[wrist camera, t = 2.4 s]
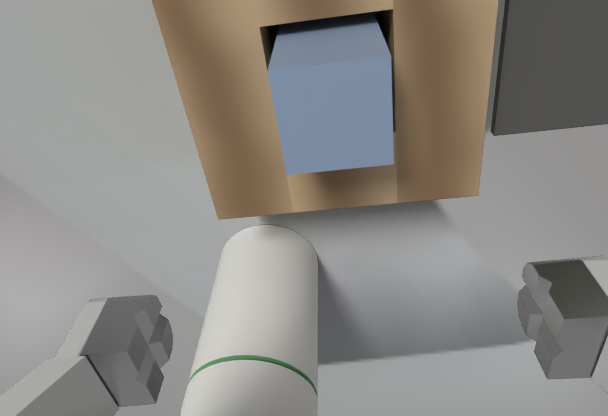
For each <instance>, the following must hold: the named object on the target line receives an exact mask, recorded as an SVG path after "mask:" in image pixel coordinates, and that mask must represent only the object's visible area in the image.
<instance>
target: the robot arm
mask: <svg viewBox="0 0 608 416" xmlns="http://www.w3.org/2000/svg"><path fill="white" fill-rule="evenodd" d="M522 278H523V279H524V281H525V283H526V285H525V286H524V287H523V288H522V289H521V290H520V291H519V295H518V302H517V303H518V313H519V318H520V321H521V324H522V327H523V329H524V331H525V333H526V335H528V336H529V337H531V338H532V339H533V340H535V341H536V346H535V350H534V352H535V354H536V357H537V358H538V361H539V363H540V365H541V367H542V369H543V371H544V373H545V375H546V377H547V379H567V378H591V380H592V381H593V382H595V383H596V384H597V385H598V386H599V387H600V388H602V389H603V390H604V391H605V392H607V393H608V258H606V257H604V256H594V257H593V256H592V257H582V258H577V259H562V260H551V261H541V262H531V263H527V264H526V265H525V266H524V269H523V274H522ZM161 308H162V305H161V303H160V301H159V299H158V297H157V296H154V295H145V296H126V297H112V298H100V299H90V300H89V301H88V302H86V303H85V304H84V306H83V308H82V310H81V311H80V313H79V315H78V317H77V319H76V321H75V323H74V324H73V326H72V328H71V330H70V332H69V333H68V335H67V337H66V339H65V341H64V343H63V344H62V346H61V348H60V350H59V352H58V353H57V355H56V357H55V358H50V359H47V360H46V361H45V362H44V363H42V364H41V365H40V366H39V367H37V368H36V369H35V370H33V371H32V372H31V373H30V374H28V375H27V376H26V377H25V378H24V379H22V380H21V381H20V382H18V383H17V384H16V385H14V386H13V387H12V388H11V389H10V390H8V391H7V392H6V393H4V394H3V395H2V396H0V416H114V415H115V414H116V412H117V411H118V410H119V408H118V407H126V406H136V405H147V404H156V401H157V398H158V395H159V392H160V388H161V385H162V382H163V379H164V376H163V374H162V372H161V370H160V368H161V367H162V366H163V365H164V364H165V363H166V362H168V361H169V359H170V355H171V352H172V345H173V334H172V329H171V325H170V323H169V320H168V319H166V318H165V317H164V316H162V315H161V314H160V311H161Z"/></svg>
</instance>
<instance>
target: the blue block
mask: <svg viewBox="0 0 608 416" xmlns="http://www.w3.org/2000/svg"><path fill="white" fill-rule="evenodd" d="M267 72H268V77H269V83H270V88H271V94H272V99H273V105H274V110H275V116H276V121H277V126H278V132H279V137H280V143H281V148H282V154H283V159H284V164H285V170H286V175H293V174H303V173H313V172H323V171H333V170H342V169H352V168H362V167H372V166H382V165H392V164H394V149H393V109H392V69H391V54H390V52H389V49H388V47H387V44H386V42H385V39H384V37H383V34H382V32H381V29H380V27H379V24H378V22H377V19H376V17H375V14H374V12H367V13H360V14H352V15H345V16H337V17H330V18H322V19H315V20H308V21H300V22H293V23H285V24H280V26H279V29H278V33H277V37H276V41H275V44H274V48H273V52H272V56H271V59H270V63H269V67H268V71H267Z"/></svg>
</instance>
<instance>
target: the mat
mask: <svg viewBox="0 0 608 416" xmlns="http://www.w3.org/2000/svg"><path fill="white" fill-rule="evenodd" d="M603 124H608V0H505V9H504V18H503V27H502V36H501V45H500V54H499V63H498V72H497V81H496V90H495V99H494V108H493V117H492V126H491V132H492V134H493V135H494V136H498V135H507V134H516V133H526V132H536V131H545V130H555V129H564V128H574V127H584V126H593V125H603Z"/></svg>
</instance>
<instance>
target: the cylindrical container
mask: <svg viewBox="0 0 608 416" xmlns="http://www.w3.org/2000/svg"><path fill="white" fill-rule="evenodd" d="M317 368H318V260H317V255H316V252H315V250H314V248H313V247H312V245H311V244H310V243H309V242H308V241H307V240H306V239H305V238H304V237H303V236H301V235H300V234H298V233H296V232H294V231H293V230H290V229H287V228H284V227H280V226H275V225H260V226H253V227H250V228H246V229H244V230H242V231H240V232H238V233H236V234H235V235H234V236H232V237H231V238H230V239H229V240H228V242H227V243H226V244H225V246H224V249H223V251H222V255H221V259H220V262H219V266H218V270H217V274H216V278H215V282H214V286H213V289H212V293H211V297H210V301H209V305H208V309H207V313H206V316H205V320H204V324H203V328H202V332H201V336H200V339H199V344H198V348H197V351H196V355H195V359H194V363H193V367H192V370H191V374H190V378H189V382H188V386H187V390H186V393H185V397H184V401H183V406H182V409H181V413H180V416H317Z"/></svg>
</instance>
